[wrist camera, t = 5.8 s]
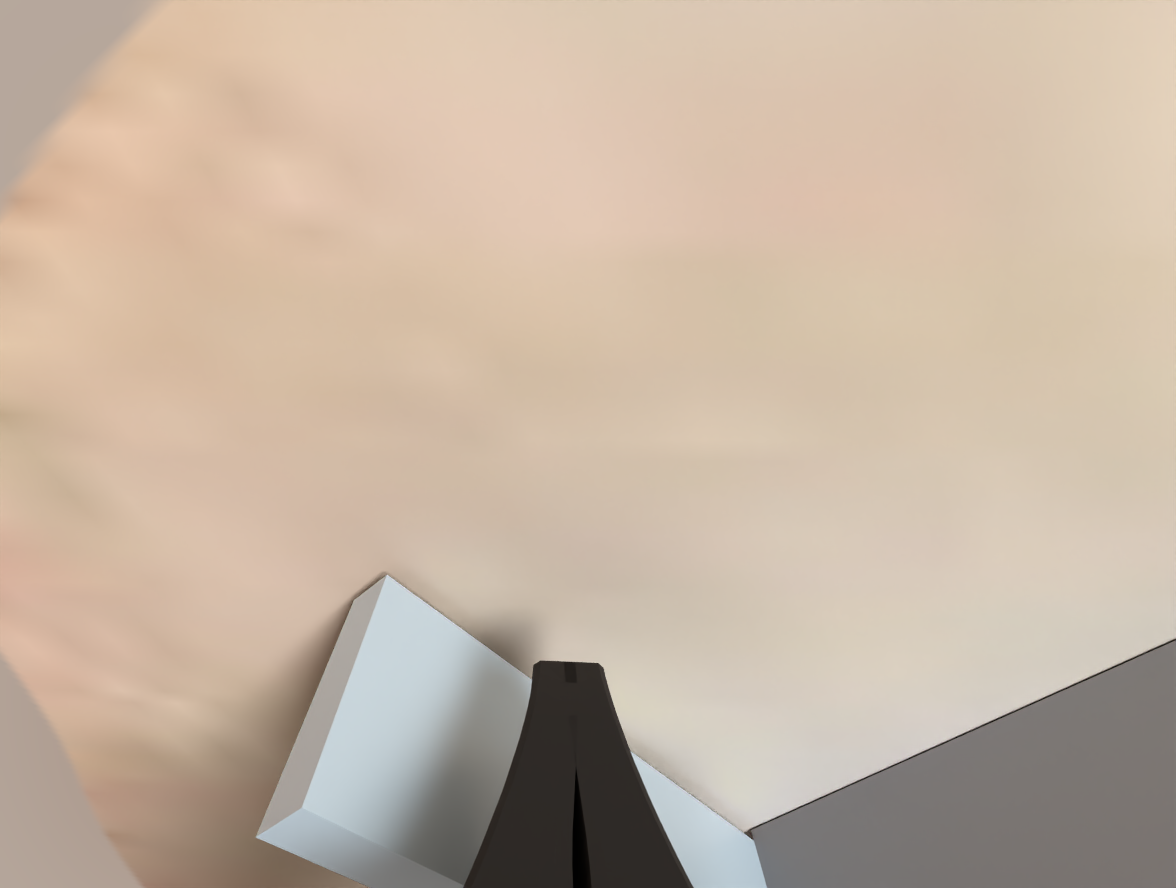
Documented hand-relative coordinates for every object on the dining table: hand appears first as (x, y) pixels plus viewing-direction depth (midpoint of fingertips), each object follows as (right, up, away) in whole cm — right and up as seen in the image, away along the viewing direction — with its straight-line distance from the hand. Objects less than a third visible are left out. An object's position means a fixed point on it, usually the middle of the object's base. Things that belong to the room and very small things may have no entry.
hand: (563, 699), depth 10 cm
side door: (0, -3, +4) cm, 5 cm away
